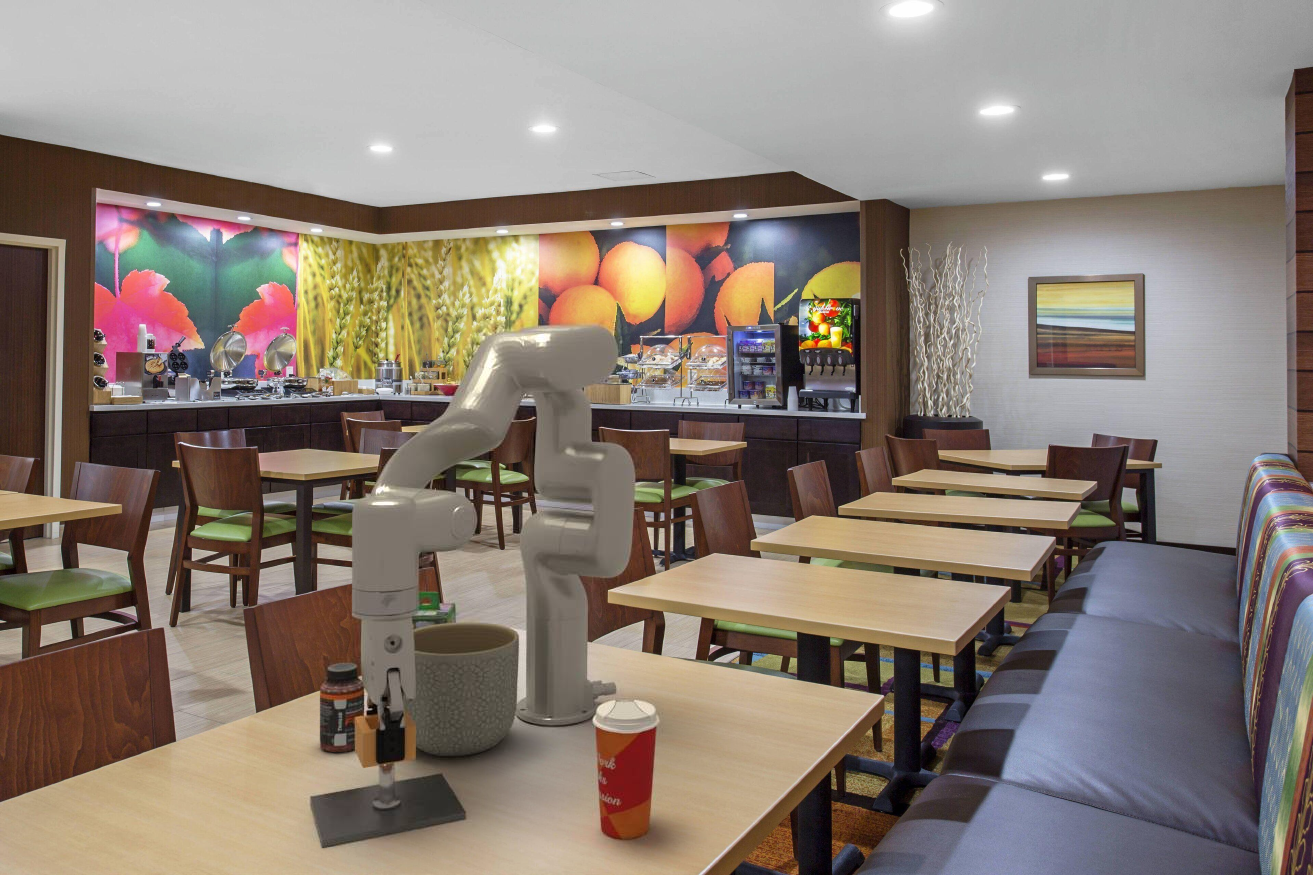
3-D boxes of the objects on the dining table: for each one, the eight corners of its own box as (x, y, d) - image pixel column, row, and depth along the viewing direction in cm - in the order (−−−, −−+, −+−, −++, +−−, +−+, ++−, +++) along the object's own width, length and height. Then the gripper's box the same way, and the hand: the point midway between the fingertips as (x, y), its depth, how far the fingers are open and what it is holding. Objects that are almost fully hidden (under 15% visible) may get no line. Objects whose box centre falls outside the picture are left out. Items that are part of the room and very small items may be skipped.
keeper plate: (441, 779, 119) (441, 735, 119) (465, 818, 108) (465, 770, 108) (310, 802, 112) (309, 756, 112) (322, 847, 101) (321, 795, 101)
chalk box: (457, 665, 168) (457, 584, 167) (448, 681, 159) (448, 596, 158) (406, 665, 167) (405, 584, 166) (394, 681, 158) (393, 596, 157)
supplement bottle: (350, 755, 126) (350, 674, 126) (311, 751, 127) (310, 671, 127) (372, 739, 132) (372, 661, 132) (334, 735, 133) (334, 658, 133)
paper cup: (591, 813, 110) (592, 698, 109) (655, 811, 111) (656, 696, 110) (592, 845, 102) (593, 722, 102) (661, 843, 103) (662, 720, 102)
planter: (464, 777, 120) (464, 661, 119) (370, 751, 128) (370, 642, 127) (542, 735, 134) (542, 631, 134) (453, 714, 143) (453, 616, 142)
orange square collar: (405, 741, 114) (405, 709, 113) (415, 759, 108) (415, 725, 108) (354, 749, 111) (354, 716, 111) (362, 767, 106) (362, 733, 105)
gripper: (434, 614, 103) (433, 772, 103) (403, 584, 118) (402, 723, 119) (364, 620, 99) (364, 784, 100) (342, 589, 115) (341, 731, 116)
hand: (385, 749), depth 110 cm, fingers closed on orange square collar, 6 cm apart
